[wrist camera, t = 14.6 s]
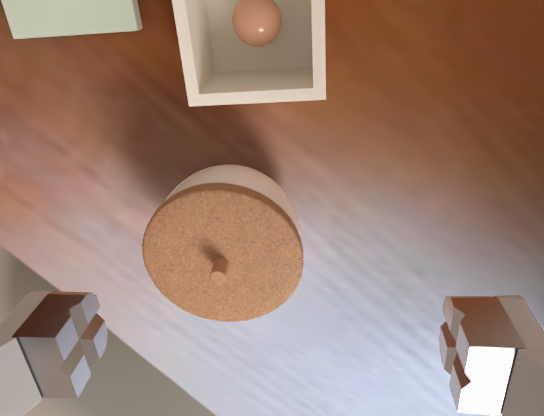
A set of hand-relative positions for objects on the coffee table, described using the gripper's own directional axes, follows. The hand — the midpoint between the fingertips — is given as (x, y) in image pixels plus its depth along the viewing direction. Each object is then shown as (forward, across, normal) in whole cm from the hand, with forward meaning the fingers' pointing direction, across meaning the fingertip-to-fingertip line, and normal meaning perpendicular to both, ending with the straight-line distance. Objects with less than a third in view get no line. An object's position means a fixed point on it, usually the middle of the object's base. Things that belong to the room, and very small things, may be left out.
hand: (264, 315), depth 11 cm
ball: (+22, -2, +4) cm, 22 cm away
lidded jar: (+24, -6, -9) cm, 26 cm away
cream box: (+24, -3, +5) cm, 24 cm away
